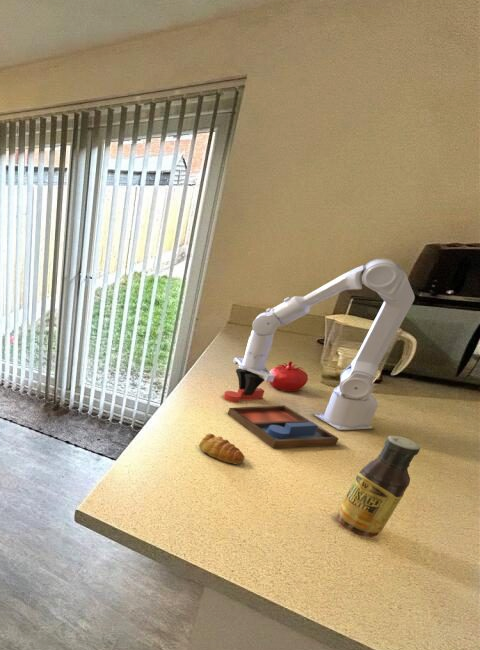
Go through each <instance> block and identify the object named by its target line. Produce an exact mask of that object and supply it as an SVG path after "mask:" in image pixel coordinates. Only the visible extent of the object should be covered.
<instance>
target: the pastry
mask: <svg viewBox="0 0 480 650" xmlns="http://www.w3.org/2000/svg"><path fill="white" fill-rule="evenodd" d="M198 447H199V448H200V450H201V451H202V452H203V453H206V454H207V455H208V456H209V457H212V458H215V459H217V460H219V461H222V462H224V463H229V464H233V465H234V464H235V465H239V464H241V463H242V462H243V461H244V460H245V458H246V457H245V455H244V454H243V452H242V451H241V450H240V448H238V447H237V446H236V445H235V444H233V443H231V442H230V441H229V440H228V439H227V438H226V439H224V437H222V436H221V435H217V436H216V435H215V434H213V433H208V434H205V436H204V437H202V439H201V440H200V441H199V443H198Z"/></svg>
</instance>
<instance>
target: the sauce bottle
mask: <svg viewBox="0 0 480 650" xmlns="http://www.w3.org/2000/svg"><path fill="white" fill-rule="evenodd" d="M383 443H384V446H383V447H382V449H381V451H380V453H379V454H378V456H377V457H376V458H375V459H373V460H371V461H369V462H368V463H367V464H365V466H363V468H362V469H361V470H359V472H358V473H357V474H356V476H355V479H354V481H353V482H352V484H351V486H350V488H349V490H348V492H347V494H346V496H345V497H344V499H343V502H342V503H341V505H340V507H339V509H338V513H337V516H336V519H337V521H338V523H339V524H340V525H341V527H343V528H344V529H346V530H348V531H349V532H351V533H353V534H355V535H357V536H360V537H367V538H374V537H377V536H378V535H379V534H380V533H381V532H382V531H383V530H384V529H385V527H386V525H387V523H388V522H389V520H390V518H391V517H392V515H393V513H394V512H395V510H396V508H397V507H398V505H399V503H400V502H401V500H402V498H404V495H405V492H406V490H407V489H408V487H409V486H410V483H411V477H410V474H409V470H408V469H409V467H410V466H411V465H410V464H411V462H412V461H413V459H414V457H415V456H417V455H418V454H419V452H420V450H421V445H420V444H419V443H417V442H416V441H414V440H412V439H409V438H407V437H404V436H398V435H389V436H387V438H385V441H384V442H383Z"/></svg>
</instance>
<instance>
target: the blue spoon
mask: <svg viewBox="0 0 480 650" xmlns="http://www.w3.org/2000/svg"><path fill="white" fill-rule="evenodd" d="M318 426H319V425H318V424H316V423H315V422H313V421H311V422H300V423H286V424H285V427H282V426H279V425H270V426H269V428H268V431H267V433H268V434H269V435H270V436H272V437H273V438H276V439H287V438H288V436H308V435H315V432H316V429H317V427H318Z"/></svg>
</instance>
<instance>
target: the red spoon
mask: <svg viewBox="0 0 480 650" xmlns="http://www.w3.org/2000/svg"><path fill="white" fill-rule="evenodd" d="M244 391H245V389H239V388H238V389H237V391H234V390H225V391H224V393H223V399H224V401H227V402H230V403H239V402H240V401H247V400H263V397H264V394H265V389H263V388H261V387H257V389H256V390H255V391H254V393H253V394H252V395H245V393H244Z"/></svg>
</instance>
